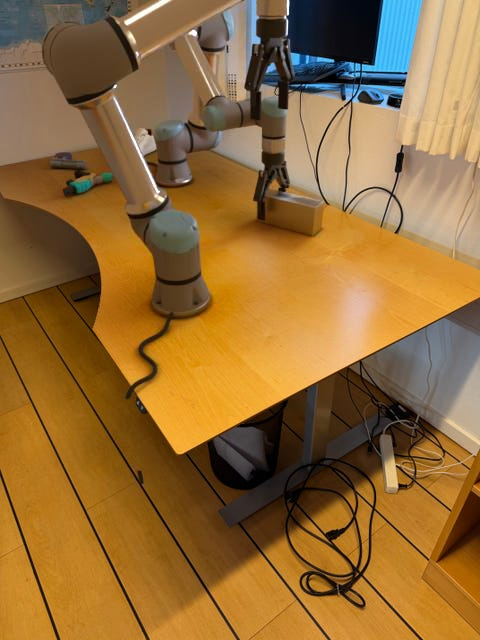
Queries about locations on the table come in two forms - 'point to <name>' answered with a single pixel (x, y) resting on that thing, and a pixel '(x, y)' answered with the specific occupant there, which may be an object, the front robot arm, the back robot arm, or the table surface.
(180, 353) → the table surface
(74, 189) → the toy gun
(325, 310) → the table surface
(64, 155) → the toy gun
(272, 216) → the box
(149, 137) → the sneaker
